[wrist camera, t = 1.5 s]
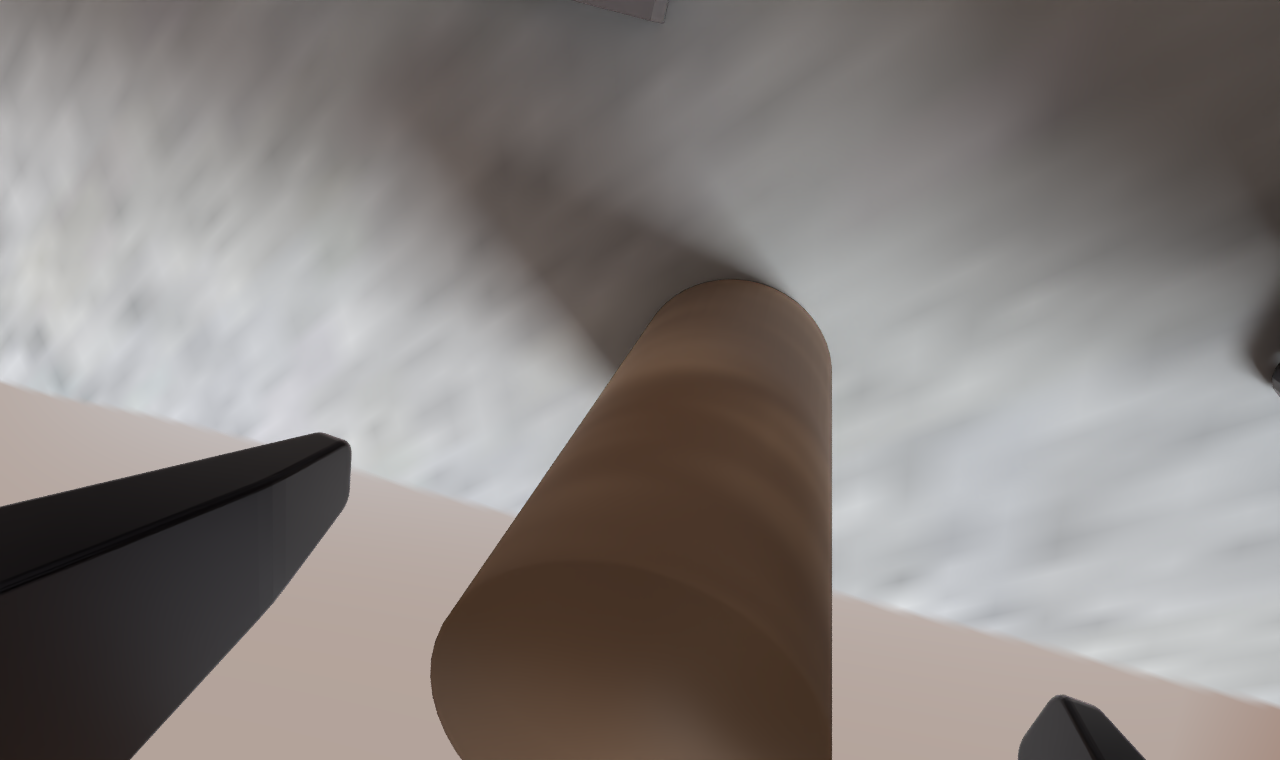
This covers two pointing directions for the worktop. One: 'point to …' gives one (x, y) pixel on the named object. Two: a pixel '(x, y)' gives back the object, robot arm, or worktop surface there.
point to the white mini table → (634, 7)
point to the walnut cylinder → (666, 559)
